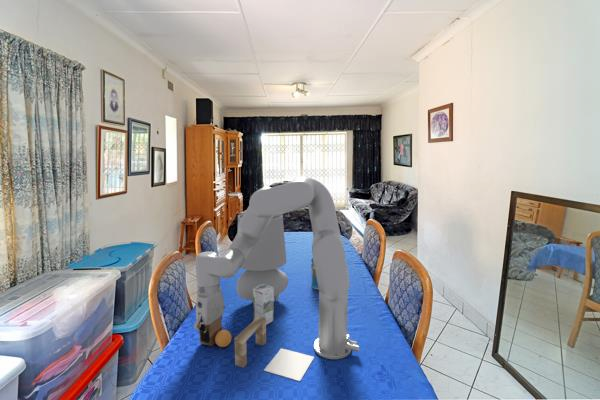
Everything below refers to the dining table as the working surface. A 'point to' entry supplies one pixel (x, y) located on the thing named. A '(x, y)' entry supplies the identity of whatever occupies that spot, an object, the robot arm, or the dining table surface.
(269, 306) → the syrup box
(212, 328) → the brown block
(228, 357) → the dining table surface
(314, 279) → the beverage bottle
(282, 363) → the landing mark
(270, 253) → the table lamp
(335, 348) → the robot arm
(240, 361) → the bridge
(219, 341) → the ball
